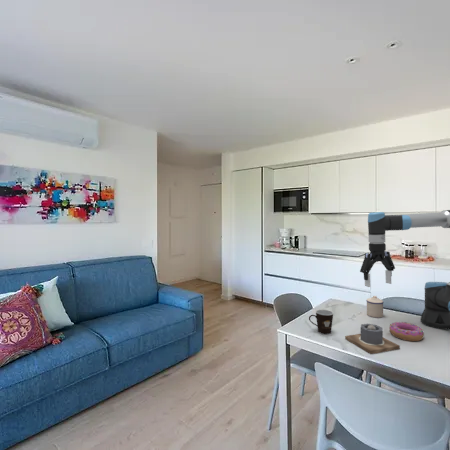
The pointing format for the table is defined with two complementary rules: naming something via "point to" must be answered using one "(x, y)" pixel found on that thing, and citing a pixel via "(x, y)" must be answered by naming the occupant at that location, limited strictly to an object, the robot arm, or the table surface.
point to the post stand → (372, 348)
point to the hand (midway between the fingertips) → (378, 284)
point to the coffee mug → (323, 321)
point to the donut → (406, 331)
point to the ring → (372, 334)
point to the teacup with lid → (375, 307)
